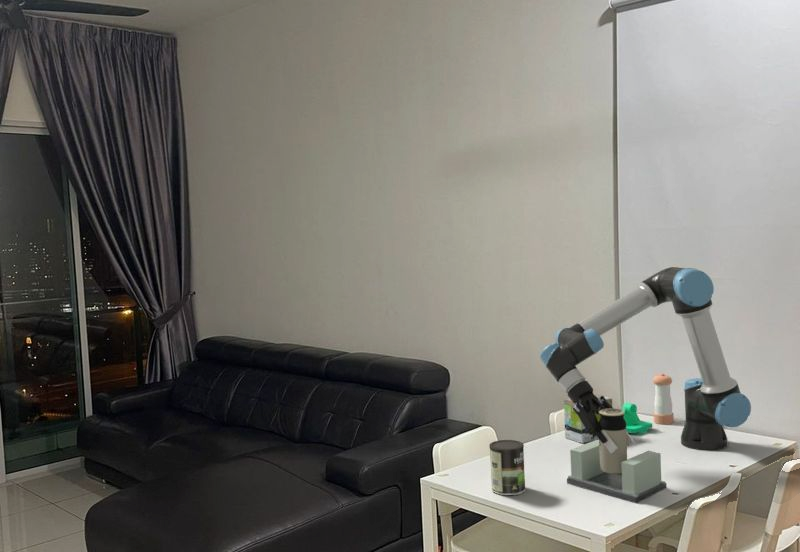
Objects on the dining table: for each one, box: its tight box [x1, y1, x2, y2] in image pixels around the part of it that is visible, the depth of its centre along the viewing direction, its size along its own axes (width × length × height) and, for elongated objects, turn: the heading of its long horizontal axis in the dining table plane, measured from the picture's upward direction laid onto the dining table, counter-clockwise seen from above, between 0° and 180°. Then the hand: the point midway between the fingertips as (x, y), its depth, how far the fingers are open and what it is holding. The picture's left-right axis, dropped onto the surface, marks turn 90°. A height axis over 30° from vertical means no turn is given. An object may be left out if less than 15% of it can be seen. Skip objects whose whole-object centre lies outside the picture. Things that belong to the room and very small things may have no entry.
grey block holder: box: [569, 439, 662, 494], centre depth 221 cm, size 22×14×9 cm, turn 40°
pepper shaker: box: [652, 372, 675, 425], centre depth 286 cm, size 7×7×19 cm
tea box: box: [563, 393, 613, 444], centre depth 272 cm, size 15×10×15 cm, turn 117°
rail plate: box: [566, 472, 667, 504], centre depth 222 cm, size 24×16×2 cm, turn 40°
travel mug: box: [598, 407, 628, 474], centre depth 221 cm, size 8×8×18 cm
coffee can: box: [488, 439, 526, 496], centre depth 223 cm, size 10×10×14 cm
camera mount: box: [621, 402, 653, 435], centre depth 277 cm, size 12×8×10 cm, turn 125°
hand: (622, 447), depth 218 cm, fingers closed on travel mug, 8 cm apart
